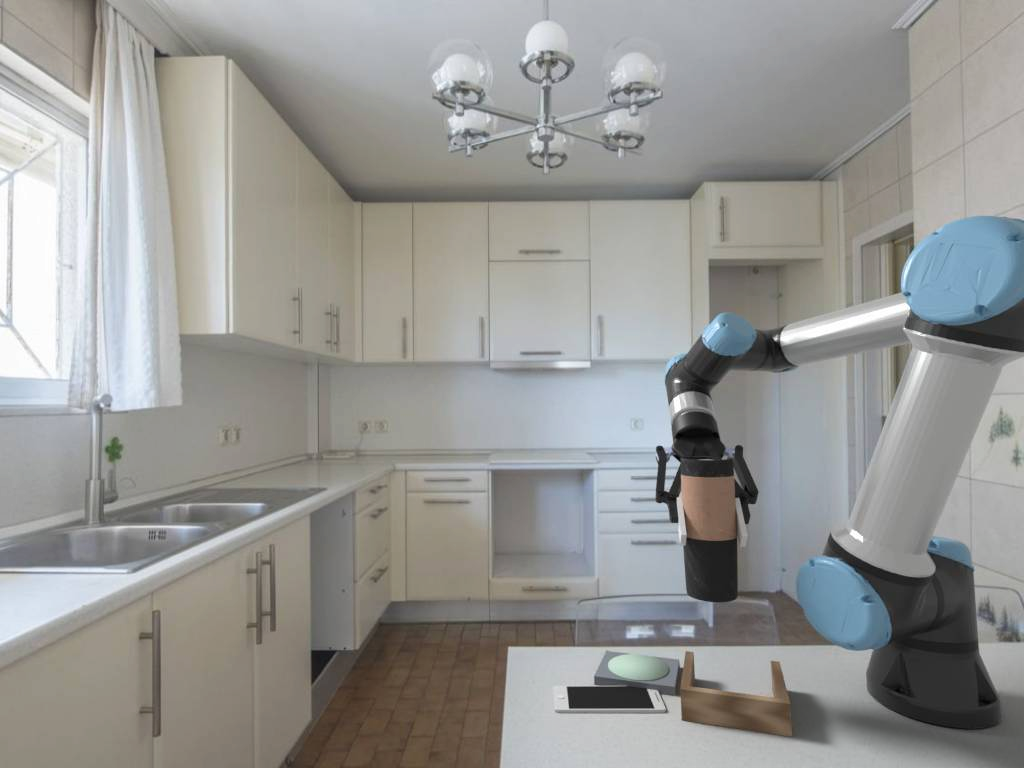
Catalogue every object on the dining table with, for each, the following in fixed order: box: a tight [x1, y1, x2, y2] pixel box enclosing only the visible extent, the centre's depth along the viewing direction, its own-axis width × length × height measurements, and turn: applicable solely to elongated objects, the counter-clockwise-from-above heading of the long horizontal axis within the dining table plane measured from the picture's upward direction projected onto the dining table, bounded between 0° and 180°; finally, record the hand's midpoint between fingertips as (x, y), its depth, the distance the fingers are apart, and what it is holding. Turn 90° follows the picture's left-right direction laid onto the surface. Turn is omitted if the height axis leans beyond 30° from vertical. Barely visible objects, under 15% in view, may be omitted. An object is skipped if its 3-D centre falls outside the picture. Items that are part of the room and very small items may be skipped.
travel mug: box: [680, 456, 739, 603], centre depth 83 cm, size 8×8×20 cm
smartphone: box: [552, 685, 667, 714], centre depth 81 cm, size 7×15×1 cm, turn 87°
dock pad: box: [593, 650, 681, 696], centre depth 89 cm, size 12×10×1 cm
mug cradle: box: [679, 650, 793, 738], centre depth 79 cm, size 13×13×4 cm
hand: (713, 540), depth 79 cm, fingers closed on travel mug, 7 cm apart
